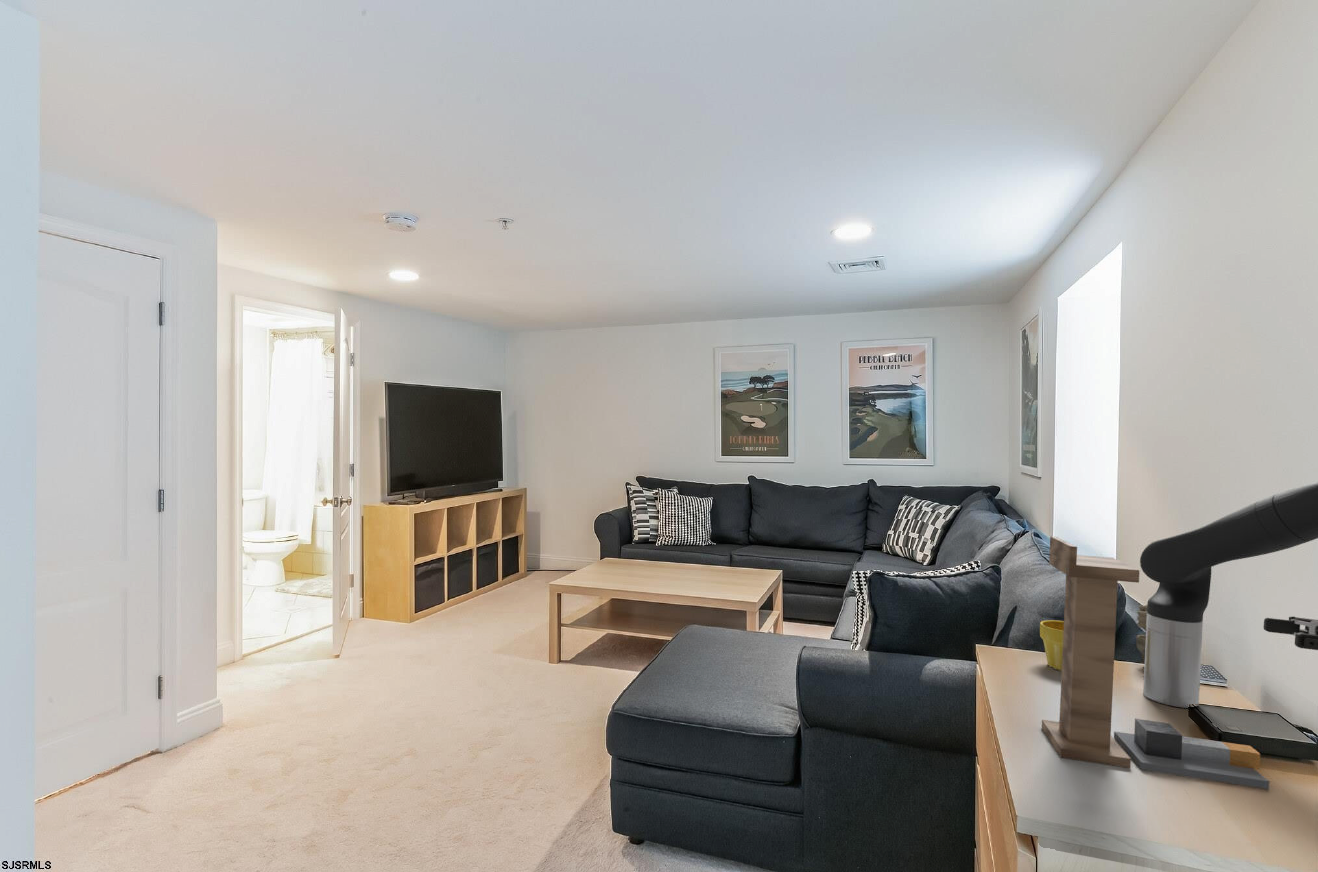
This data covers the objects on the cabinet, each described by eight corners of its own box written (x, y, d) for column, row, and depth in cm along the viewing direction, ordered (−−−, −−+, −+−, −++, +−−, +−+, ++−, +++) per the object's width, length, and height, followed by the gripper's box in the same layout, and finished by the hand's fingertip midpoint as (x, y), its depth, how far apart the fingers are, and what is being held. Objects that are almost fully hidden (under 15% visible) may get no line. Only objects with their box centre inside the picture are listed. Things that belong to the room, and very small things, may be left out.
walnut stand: (1041, 727, 124) (1050, 536, 124) (1104, 736, 121) (1113, 540, 121) (1060, 757, 113) (1070, 546, 112) (1130, 768, 110) (1140, 551, 110)
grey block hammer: (1134, 741, 117) (1135, 718, 117) (1246, 758, 112) (1247, 734, 112) (1145, 754, 112) (1146, 730, 112) (1263, 772, 108) (1264, 747, 108)
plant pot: (1031, 665, 159) (1033, 624, 159) (1046, 657, 166) (1048, 617, 166) (1081, 679, 151) (1083, 635, 151) (1095, 669, 159) (1097, 627, 158)
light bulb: (1168, 673, 158) (1171, 608, 158) (1141, 670, 159) (1144, 606, 159) (1155, 665, 163) (1158, 603, 163) (1130, 662, 164) (1133, 600, 164)
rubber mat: (1113, 738, 121) (1114, 731, 121) (1227, 754, 116) (1228, 747, 116) (1141, 769, 110) (1141, 762, 110) (1268, 789, 105) (1269, 781, 105)
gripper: (1374, 610, 113) (1256, 598, 117) (1446, 636, 99) (1310, 621, 104) (1370, 655, 113) (1253, 641, 118) (1441, 687, 99) (1305, 670, 104)
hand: (1280, 632), depth 111 cm, fingers open, 8 cm apart
